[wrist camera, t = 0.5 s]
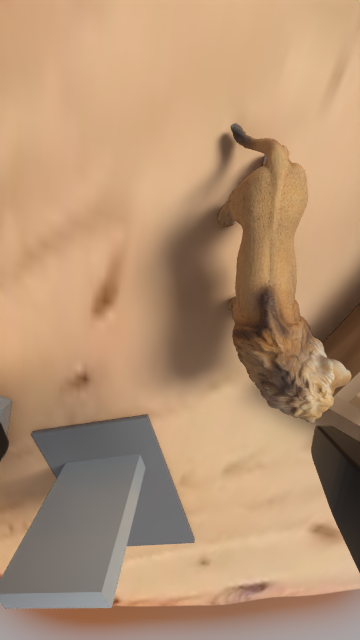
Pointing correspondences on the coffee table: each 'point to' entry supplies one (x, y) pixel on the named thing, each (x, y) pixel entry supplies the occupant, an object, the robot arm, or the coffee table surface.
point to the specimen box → (347, 365)
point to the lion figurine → (276, 288)
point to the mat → (123, 440)
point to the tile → (77, 538)
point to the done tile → (5, 412)
